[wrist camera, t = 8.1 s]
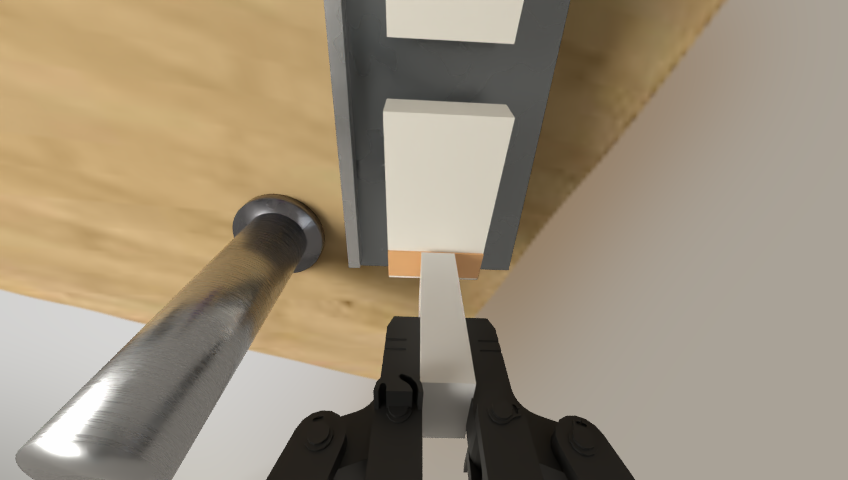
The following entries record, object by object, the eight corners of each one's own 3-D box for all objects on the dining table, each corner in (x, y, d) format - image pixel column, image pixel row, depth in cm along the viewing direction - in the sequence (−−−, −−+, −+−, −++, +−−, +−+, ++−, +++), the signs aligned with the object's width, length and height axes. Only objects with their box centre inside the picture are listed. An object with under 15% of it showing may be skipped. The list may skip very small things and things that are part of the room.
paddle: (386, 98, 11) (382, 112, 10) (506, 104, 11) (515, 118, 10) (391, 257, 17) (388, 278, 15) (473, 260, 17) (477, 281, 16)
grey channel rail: (339, -242, 12) (273, -483, 7) (572, -222, 12) (691, -438, 7) (365, 223, 22) (347, 277, 17) (491, 228, 22) (513, 283, 17)
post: (228, 192, 21) (-87, 418, 8) (319, 195, 21) (157, 422, 8) (249, 265, 24) (48, 514, 11) (329, 268, 24) (222, 515, 11)
